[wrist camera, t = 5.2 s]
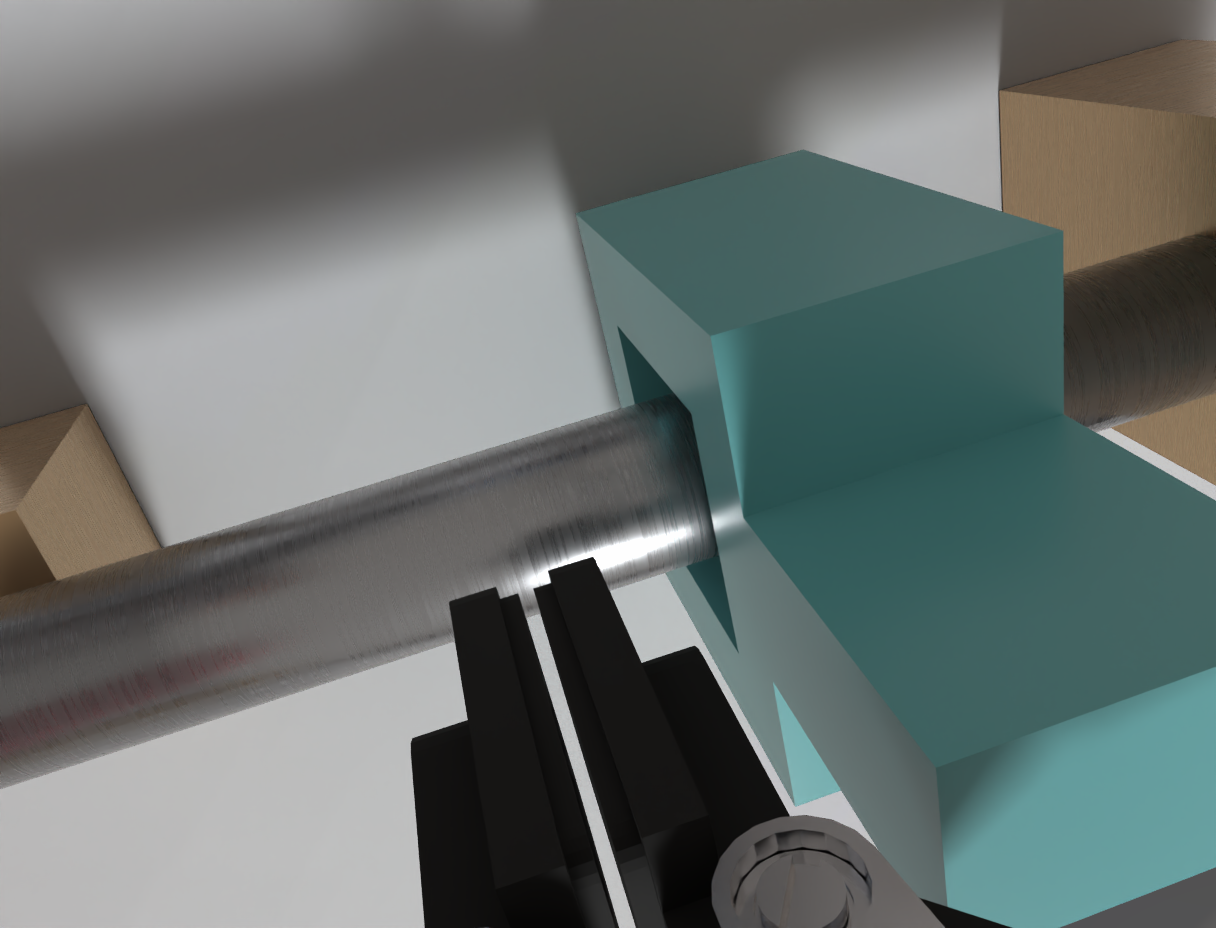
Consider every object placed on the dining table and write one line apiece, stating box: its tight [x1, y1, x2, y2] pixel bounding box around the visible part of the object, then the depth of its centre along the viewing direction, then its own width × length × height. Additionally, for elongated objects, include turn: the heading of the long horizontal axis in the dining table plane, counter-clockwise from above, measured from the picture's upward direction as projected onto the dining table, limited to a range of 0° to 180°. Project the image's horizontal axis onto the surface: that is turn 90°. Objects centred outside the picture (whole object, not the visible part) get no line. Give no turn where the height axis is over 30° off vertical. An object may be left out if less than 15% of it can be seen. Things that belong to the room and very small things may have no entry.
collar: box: [576, 150, 1216, 928], centre depth 13 cm, size 4×7×11 cm, turn 13°
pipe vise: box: [0, 40, 1216, 789], centre depth 16 cm, size 24×6×9 cm, turn 103°
